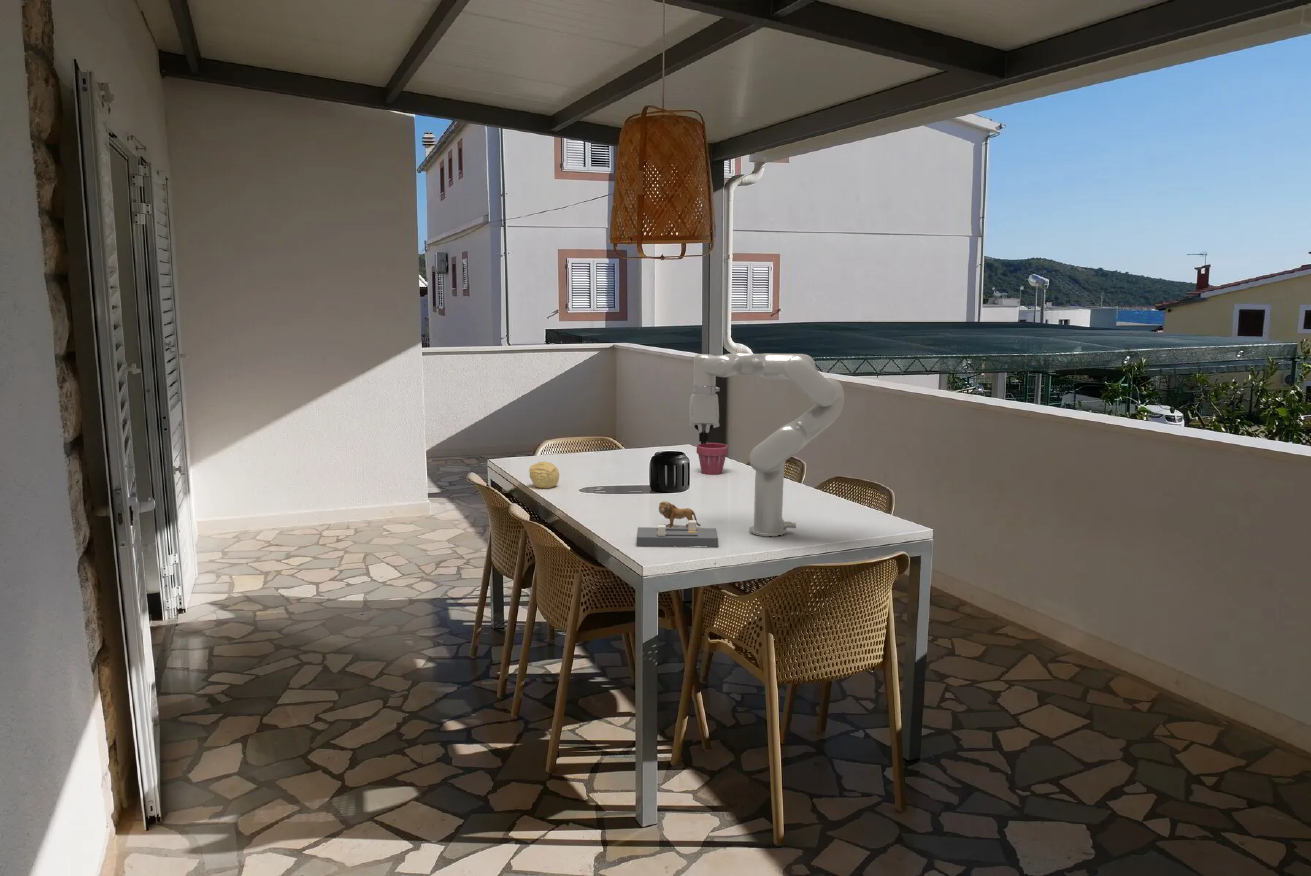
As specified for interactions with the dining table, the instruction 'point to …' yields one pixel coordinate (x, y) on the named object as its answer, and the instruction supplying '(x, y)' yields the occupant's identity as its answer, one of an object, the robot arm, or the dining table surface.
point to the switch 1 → (661, 530)
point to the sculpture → (544, 475)
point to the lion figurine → (675, 513)
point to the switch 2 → (692, 525)
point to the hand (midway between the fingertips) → (703, 443)
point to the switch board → (677, 537)
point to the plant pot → (712, 457)
